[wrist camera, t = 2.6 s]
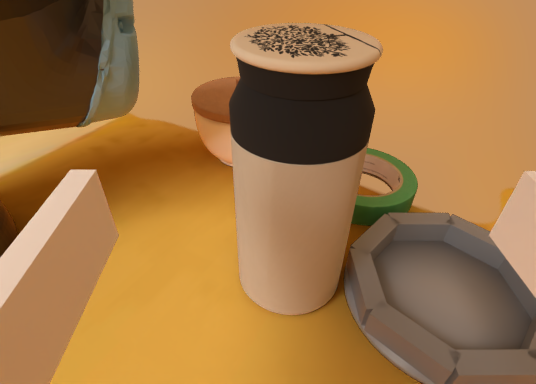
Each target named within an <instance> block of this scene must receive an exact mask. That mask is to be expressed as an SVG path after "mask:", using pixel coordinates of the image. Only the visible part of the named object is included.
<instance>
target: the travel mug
mask: <svg viewBox="0 0 536 384" xmlns="http://www.w3.org/2000/svg"><path fill="white" fill-rule="evenodd" d="M230 48H231V51H232V53H233V54H234V55H235V56H236V58H237V61H238V67H239V73H240V80H239V82H238V84H237V86H236V88H235V90H234V92H233V94H232V96H231V98H230V101H229V115H230V130H231V147H232V163H233V179H234V195H235V211H236V227H237V243H238V259H239V275H240V281H241V284H242V287H243V289H244V291H245V292H246V294H247V295H248V296H249V297H250V298H251V299H252V300H253V301H254V302H255V303H256V304H258V305H259V306H261V307H262V308H264V309H266V310H269V311H271V312H275V313H279V314H285V315H299V314H305V313H309V312H312V311H314V310H316V309H319V308H320V307H322V306H323V305H325V304H326V303H327V302H328V301H329V300H330V299H331V298H332V296H333V295H334V293H335V291H336V289H337V286H338V282H339V277H340V272H341V268H342V263H343V259H344V254H345V249H346V245H347V240H348V235H349V231H350V226H351V221H352V217H353V212H354V207H355V203H356V198H357V193H358V189H359V184H360V179H361V174H362V170H363V165H364V161H365V156H366V151H367V147H368V142H369V137H370V133H371V128H372V123H373V119H374V114H375V107H374V104H373V101H372V98H371V95H370V92H369V89H368V86H367V82H368V79H369V76H370V73H371V70H372V67H373V65H374V63H375V62H376V61H377V60H379V58H380V57H381V55H382V52H383V48H382V45H381V43H380V42H379V41H378V40H377V39H376V38H374V37H372V36H370V35H369V34H366V33H363V32H361V31H357V30H354V29H349V28H344V27H340V26H332V25H325V24H311V23H285V24H272V25H264V26H258V27H254V28H250V29H247V30H244V31H242V32H240V33H238V34H237V35H235V36H234V37H233V38H232V40H231V43H230Z"/></svg>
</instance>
